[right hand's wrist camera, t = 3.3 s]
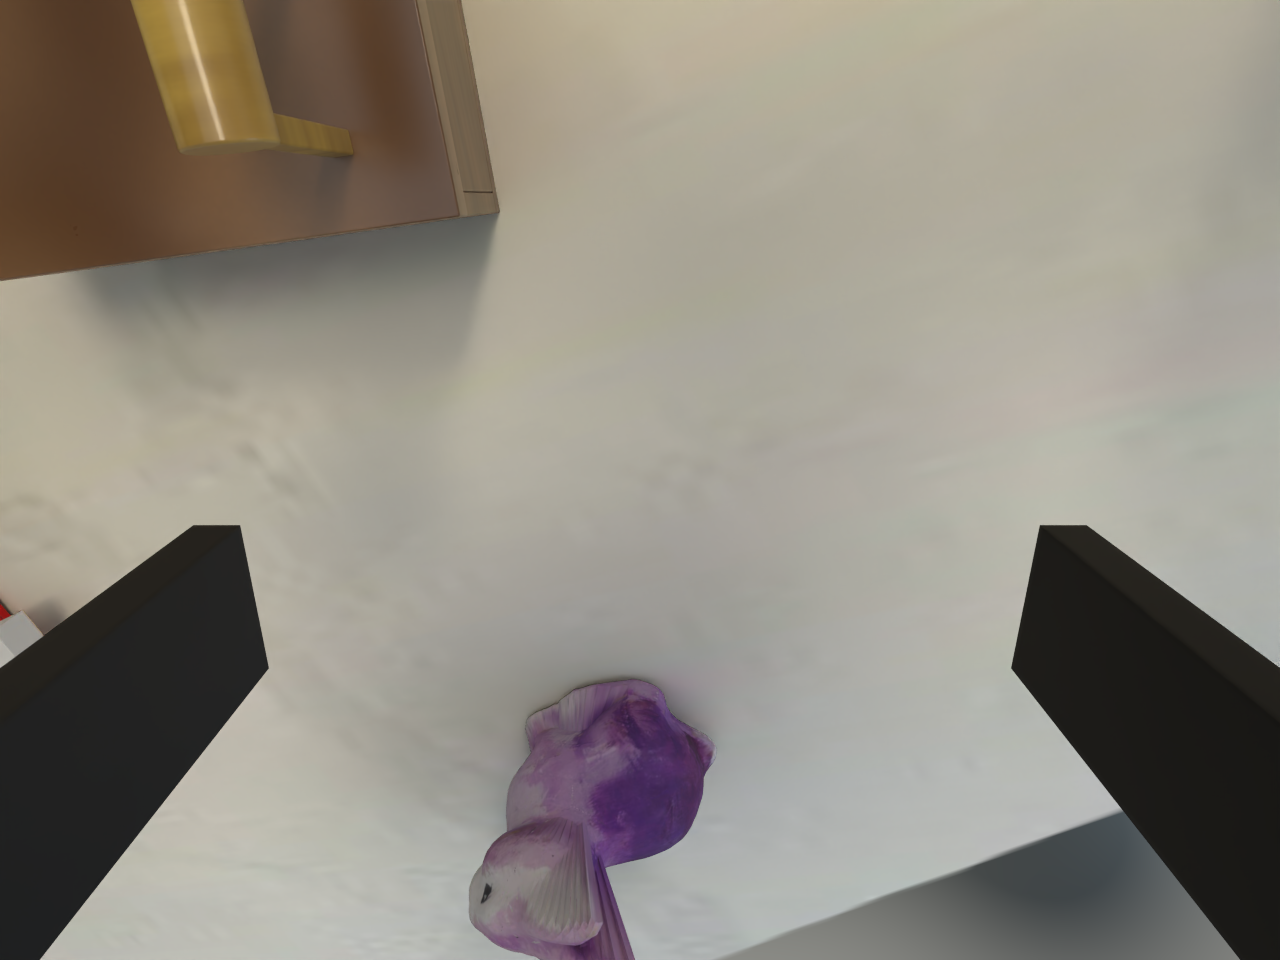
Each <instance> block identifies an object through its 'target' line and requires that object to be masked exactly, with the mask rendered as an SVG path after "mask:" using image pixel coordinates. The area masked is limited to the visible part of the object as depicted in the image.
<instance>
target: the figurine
mask: <svg viewBox="0 0 1280 960" xmlns="http://www.w3.org/2000/svg"><path fill="white" fill-rule="evenodd" d="M525 730H526V734H527V737H528V741H529V745H530V749H531V750H530V751H531V754H530V755H529V757H528V758H527V760H526V761H525V762H524V764H523V765H522V766H521V768H520V769H519V770H518V772H517V773H516V774H515V776H514V778H513V779H512V781H511V784H510V786H509V789H508V795H507V807H506V819H507V832H506V833H504V834H503V835H501V836H500V837H499V838H498V839H497V840H496V841H495V842H493V844H492V845H491V847H490V848H489V849H488V851H487V853H486V855H485V858H484V861H483V864H482V865H481V866H480V868H479V869H478V870H477V872H476V873H475V874H474V876H473V879H472V881H471V884H470V888H469V916H470V920H471V923H472V924H473V925H474V927H475V928H476V929H478V930H479V931H480V932H482V933H483V934H484V935H485V936H486V937H487V938H488V939H489V940H491V941H492V942H493V943H495V944H496V945H498V946H500V947H502V948H504V949H507V950H510V951H514V952H520V953H524V954H526V955H530V956H535V957H537V958H538V959H540V960H635V958H634V955H633V952H632V949H631V946H630V943H629V940H628V937H627V933H626V930H625V927H624V924H623V921H622V918H621V915H620V912H619V909H618V906H617V903H616V900H615V897H614V894H613V891H612V888H611V885H610V882H609V879H608V876H607V873H606V870H605V868H606V867H610V866H613V865H617V864H621V863H625V862H630V861H634V860H639V859H643V858H647V857H650V856H653V855H655V854H658V853H660V852H663V851H665V850H667V849H669V848H671V847H672V846H673V845H675V844H676V843H677V842H679V841H680V840H681V839H683V837H684V836H685V835H686V834H687V832H688V831H689V829H690V828H691V826H692V824H693V821H694V819H695V817H696V814H697V811H698V808H699V805H700V802H701V799H702V795H703V782H704V776H705V773H706V771H707V770H708V768H709V767H710V766H711V764H712V763H713V762H714V760H715V757H716V752H717V749H716V746H715V744H714V742H713V741H712V740H711V739H710V738H709V737H708V736H707V735H705V734H704V733H702V732H700V731H698V730H696V729H694V728H692V727H690V726H688V725H686V724H684V723H683V722H681V721H679V720H678V719H676V718H675V717H674V716H673V715H672V714H671V712H670V711H669V709H668V707H667V705H666V701H665V697H664V694H663V693H662V691H661V690H660V689H659V688H657V687H656V686H654V685H652V684H650V683H647V682H644V681H641V680H636V679H630V680H624V681H615V682H608V683H601V684H594V685H590V686H586V687H583V688H580V689H574V690H573V691H572V692H571V693H569V694H568V695H567V696H565V697H564V698H563V699H561V700H560V701H559V703H558V704H555V705H552V706H551V707H549V708H545V709H543V710H541V711H538V712H536V713H534V714H533V715H531V716H530V717H529V718H528V719H527V722H526V727H525Z"/></svg>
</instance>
